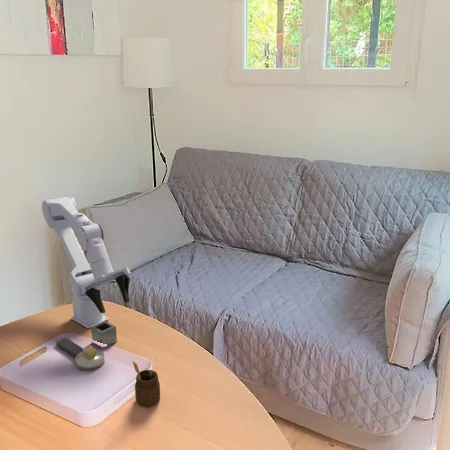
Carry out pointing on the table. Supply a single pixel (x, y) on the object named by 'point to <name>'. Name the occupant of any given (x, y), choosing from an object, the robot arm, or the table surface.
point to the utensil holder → (147, 387)
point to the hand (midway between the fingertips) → (115, 307)
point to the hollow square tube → (104, 333)
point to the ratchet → (82, 355)
